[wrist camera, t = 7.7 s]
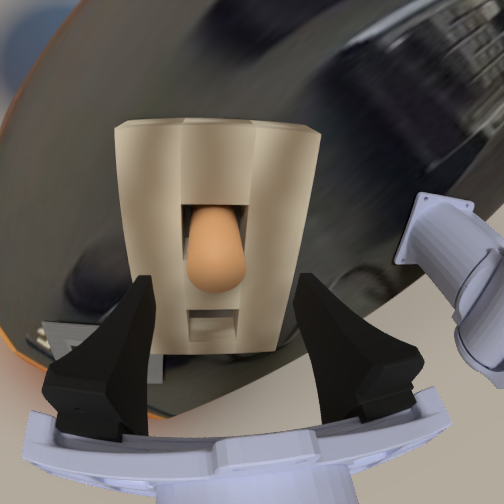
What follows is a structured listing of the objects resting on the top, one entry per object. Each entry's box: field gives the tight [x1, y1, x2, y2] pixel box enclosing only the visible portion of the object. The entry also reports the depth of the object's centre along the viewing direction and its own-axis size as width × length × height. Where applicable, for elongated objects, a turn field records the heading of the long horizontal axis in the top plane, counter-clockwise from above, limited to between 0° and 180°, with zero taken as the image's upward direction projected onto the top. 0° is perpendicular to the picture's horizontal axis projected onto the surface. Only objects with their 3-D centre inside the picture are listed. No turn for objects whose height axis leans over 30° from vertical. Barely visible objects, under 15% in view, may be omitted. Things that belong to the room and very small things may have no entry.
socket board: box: [115, 117, 321, 354], centre depth 22 cm, size 12×20×4 cm, turn 175°
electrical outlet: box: [42, 321, 163, 383], centre depth 28 cm, size 13×10×2 cm
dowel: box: [187, 204, 247, 293], centre depth 18 cm, size 3×3×7 cm
